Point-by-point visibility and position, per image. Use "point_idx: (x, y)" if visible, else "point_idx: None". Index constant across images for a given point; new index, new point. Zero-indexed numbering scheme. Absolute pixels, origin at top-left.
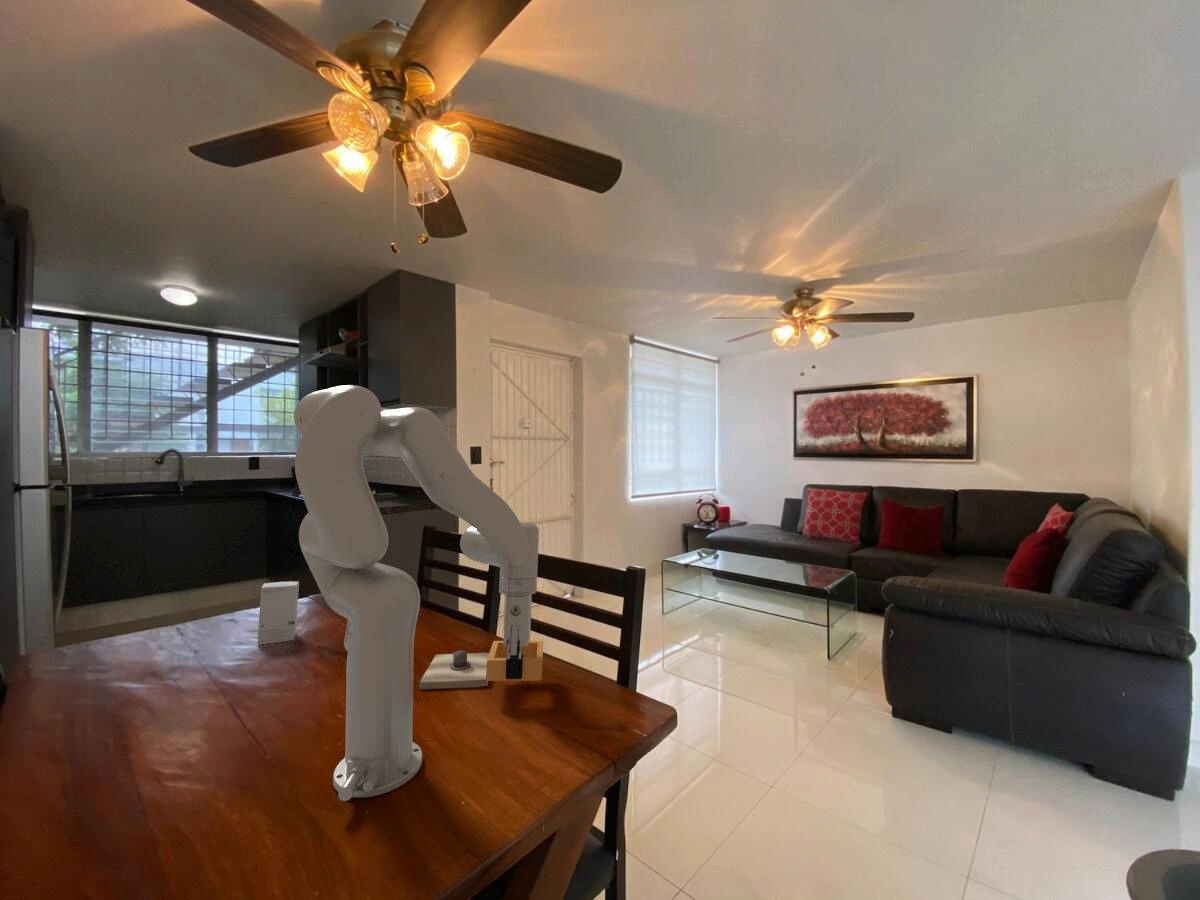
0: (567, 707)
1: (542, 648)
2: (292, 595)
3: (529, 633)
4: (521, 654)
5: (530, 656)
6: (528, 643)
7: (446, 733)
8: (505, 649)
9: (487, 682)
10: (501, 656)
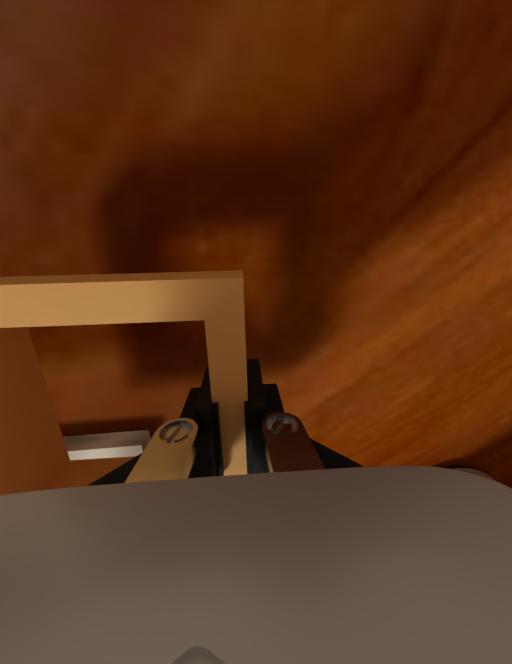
0: (281, 165)
1: (10, 287)
2: None
3: (487, 646)
4: (269, 431)
5: (10, 344)
6: (501, 492)
7: (356, 458)
8: (19, 479)
9: (137, 436)
10: (51, 464)
